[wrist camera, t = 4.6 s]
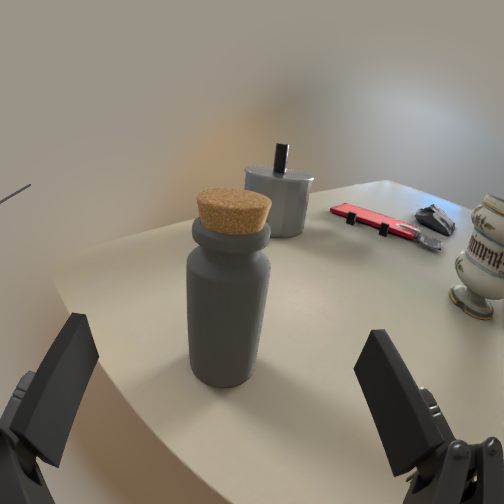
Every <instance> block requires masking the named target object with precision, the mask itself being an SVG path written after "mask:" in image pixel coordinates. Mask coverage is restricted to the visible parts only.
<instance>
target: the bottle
mask: <svg viewBox="0 0 504 504" xmlns="http://www.w3.org/2000/svg"><path fill="white" fill-rule="evenodd" d="M197 204H198V209H199V216H200V217H198V218H196V219H195V220H194V222H193V225H192V236H193V239H194V241H195V242H196V243H197V244H199V245H200V246H198V247H197V248H195V249H194V250H193V251H192V252H191V253H190V254H189V256H188V258H187V319H188V341H189V356H190V365H191V368H192V371H193V373H194V374H195V375H196V376H197V378H199V379H200V380H201V381H203V382H204V383H206V384H209V385H212V386H215V387H232V386H236V385H239V384H241V383H243V382H244V381H246V380H247V379H248V378H249V377H250V376H251V374H252V372H253V370H254V366H255V362H256V357H257V351H258V345H259V340H260V334H261V328H262V322H263V316H264V310H265V304H266V297H267V291H268V284H269V278H270V270H271V265H270V261H269V259H268V258H267V256H266V255H265V254H264V253H263V252H262V251H260V250H261V249H263V248H265V247H266V246H267V245H268V243H269V240H270V234H271V229H270V226H269V225H268V224H267V223H266V222H265V221H266V218H267V215H268V213H269V210H270V207H271V204H272V203H271V200H270V199H269V198H268V197H266V196H264V195H262V194H259V193H256V192H252V191H247V190H240V189H227V188H223V189H211V190H206V191H203V192H201V193H199V194H198V195H197Z"/></svg>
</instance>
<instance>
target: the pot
mask: <svg viewBox="0 0 504 504" xmlns="http://www.w3.org/2000/svg"><path fill="white" fill-rule="evenodd" d="M310 187H311V182H304V183H299V182H285V181H277V180H271V179H265V178H261V177H257V176H253V175H250V174H248V173H246V178H245V188H244V190H247V191H252V192H256V193H259V194H262V195H264V196H266V197H268V198H269V199H270V200H271V203H272V204H271V207H270V210H269V213H268V215H267V218H266V221H265V222H266V223H267V224H268V225H269V226H270V229H271V234H270V237H280V238H284V237H293V236H297V235H299V234H300V233H301V232H302V230H303V228H304V222H305V216H306V211H307V205H308V199H309V193H310Z"/></svg>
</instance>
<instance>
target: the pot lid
mask: <svg viewBox="0 0 504 504" xmlns="http://www.w3.org/2000/svg"><path fill="white" fill-rule="evenodd" d="M288 150H289V145H288V144H283V143H276V150H275V159H274V166H248V167H245V169H244V171H245V172H246V173H248V174H250V175H253V176H257V177H261V178H265V179H271V180H277V181H285V182H299V183H304V182H311V181H313V176H311V175H310V174H307V173H304V172H301V171H298V170H293V169H288V168H286V165H287V157H288Z"/></svg>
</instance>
